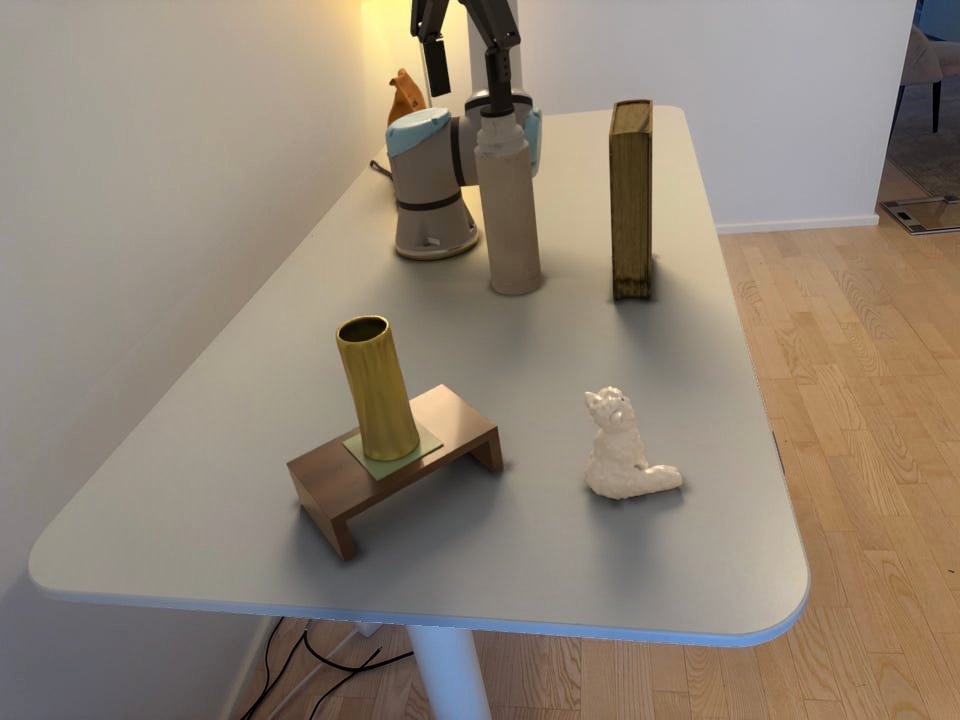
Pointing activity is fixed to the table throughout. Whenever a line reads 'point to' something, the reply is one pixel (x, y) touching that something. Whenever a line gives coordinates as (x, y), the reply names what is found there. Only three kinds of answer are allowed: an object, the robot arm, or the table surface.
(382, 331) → the vase
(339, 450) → the shelf
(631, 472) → the white creature statuette
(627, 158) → the book
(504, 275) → the thermos bottle
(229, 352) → the table surface
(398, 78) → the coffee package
